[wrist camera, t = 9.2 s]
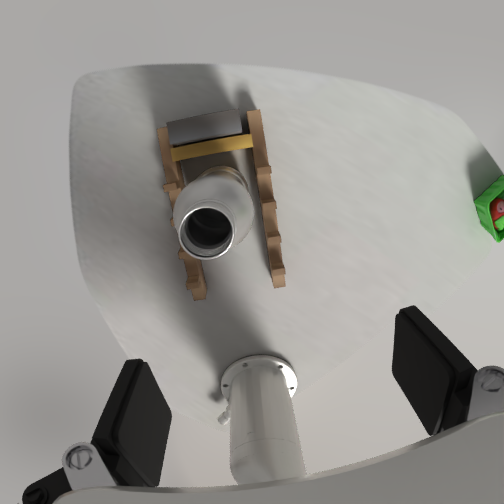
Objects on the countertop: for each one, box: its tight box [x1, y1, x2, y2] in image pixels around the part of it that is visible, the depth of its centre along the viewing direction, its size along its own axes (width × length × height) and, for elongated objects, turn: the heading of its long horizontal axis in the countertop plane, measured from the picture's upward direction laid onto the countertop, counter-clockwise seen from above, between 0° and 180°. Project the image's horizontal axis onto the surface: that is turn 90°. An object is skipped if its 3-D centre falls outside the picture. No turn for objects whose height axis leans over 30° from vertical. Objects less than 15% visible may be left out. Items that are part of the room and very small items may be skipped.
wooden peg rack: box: [157, 109, 286, 301], centre depth 35 cm, size 22×12×9 cm, turn 9°
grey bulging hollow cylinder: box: [173, 166, 254, 260], centre depth 29 cm, size 6×7×20 cm
